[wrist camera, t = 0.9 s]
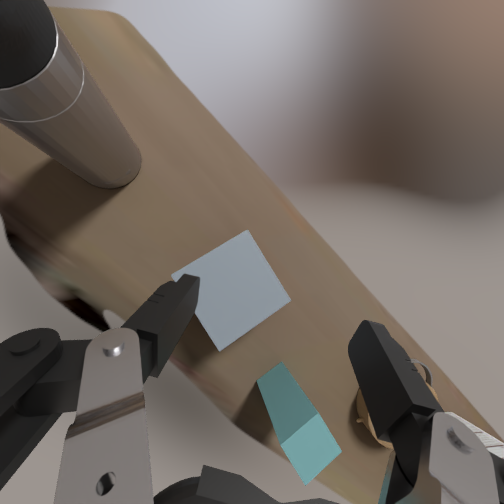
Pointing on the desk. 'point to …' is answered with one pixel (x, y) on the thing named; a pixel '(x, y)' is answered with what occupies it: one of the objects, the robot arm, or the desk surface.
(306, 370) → the desk surface
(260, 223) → the desk surface
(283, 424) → the teal block
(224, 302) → the tower top
